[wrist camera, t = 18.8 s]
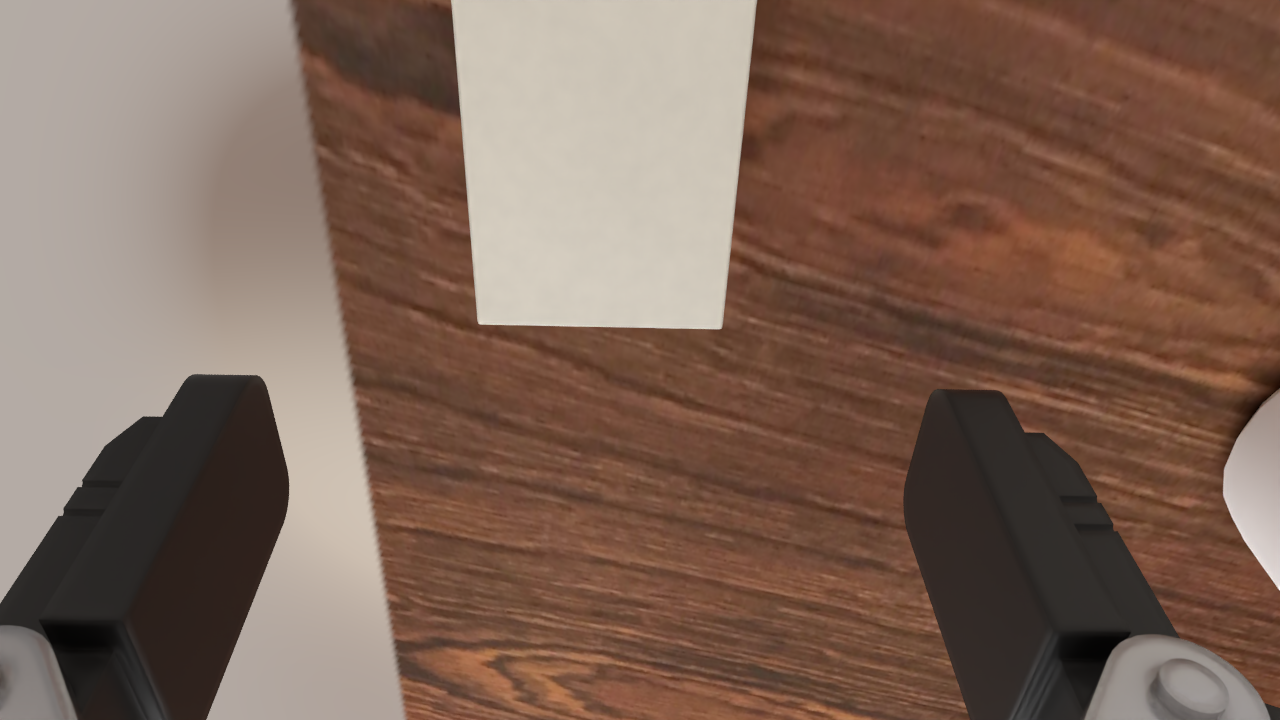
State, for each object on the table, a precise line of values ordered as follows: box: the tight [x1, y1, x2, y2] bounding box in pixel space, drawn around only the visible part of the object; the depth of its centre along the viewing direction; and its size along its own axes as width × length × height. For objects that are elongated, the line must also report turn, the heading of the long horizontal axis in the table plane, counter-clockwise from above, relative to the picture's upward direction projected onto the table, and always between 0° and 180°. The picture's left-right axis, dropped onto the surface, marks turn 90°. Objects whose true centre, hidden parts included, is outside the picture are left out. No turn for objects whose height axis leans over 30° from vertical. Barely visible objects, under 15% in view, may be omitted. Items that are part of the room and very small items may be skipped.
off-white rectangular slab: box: [451, 0, 757, 329], centre depth 19 cm, size 9×6×1 cm, turn 178°
